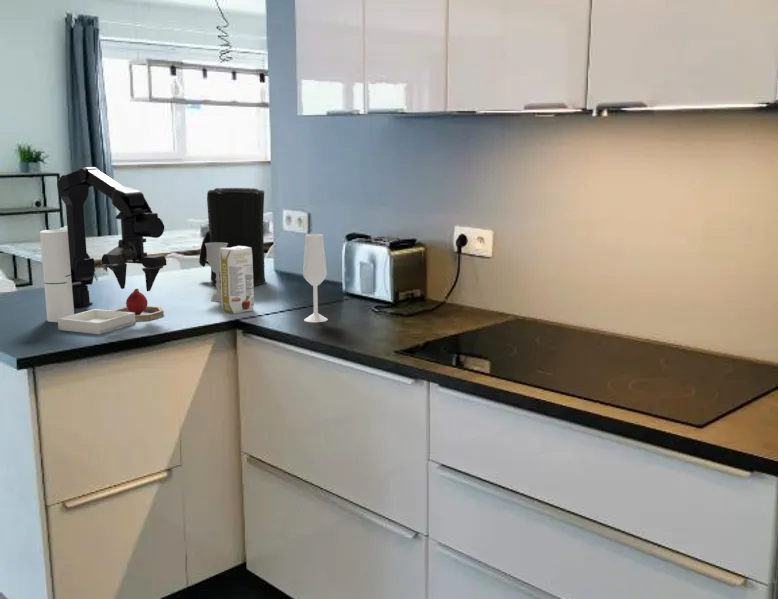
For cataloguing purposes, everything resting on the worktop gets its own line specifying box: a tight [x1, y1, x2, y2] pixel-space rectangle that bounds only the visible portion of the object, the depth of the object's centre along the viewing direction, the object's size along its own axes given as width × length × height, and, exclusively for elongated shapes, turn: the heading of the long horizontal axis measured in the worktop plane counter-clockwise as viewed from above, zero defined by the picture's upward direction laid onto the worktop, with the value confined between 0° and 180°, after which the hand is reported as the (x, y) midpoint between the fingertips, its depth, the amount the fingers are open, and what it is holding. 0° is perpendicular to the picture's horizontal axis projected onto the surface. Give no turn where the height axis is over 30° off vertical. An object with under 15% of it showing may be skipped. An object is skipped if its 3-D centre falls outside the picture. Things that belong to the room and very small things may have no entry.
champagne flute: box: [302, 233, 329, 323], centre depth 223 cm, size 7×7×24 cm
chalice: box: [205, 242, 228, 302], centre depth 252 cm, size 7×7×18 cm
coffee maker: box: [198, 187, 266, 287], centre depth 281 cm, size 23×32×34 cm
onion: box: [125, 288, 148, 315], centre depth 229 cm, size 6×6×8 cm
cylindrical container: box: [39, 229, 75, 323], centre depth 223 cm, size 7×7×25 cm
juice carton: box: [220, 246, 255, 315], centre depth 235 cm, size 8×9×19 cm
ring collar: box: [112, 305, 165, 322], centre depth 230 cm, size 14×14×2 cm
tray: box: [57, 308, 137, 335], centre depth 217 cm, size 14×14×3 cm
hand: (135, 289), depth 229 cm, fingers open, 9 cm apart
